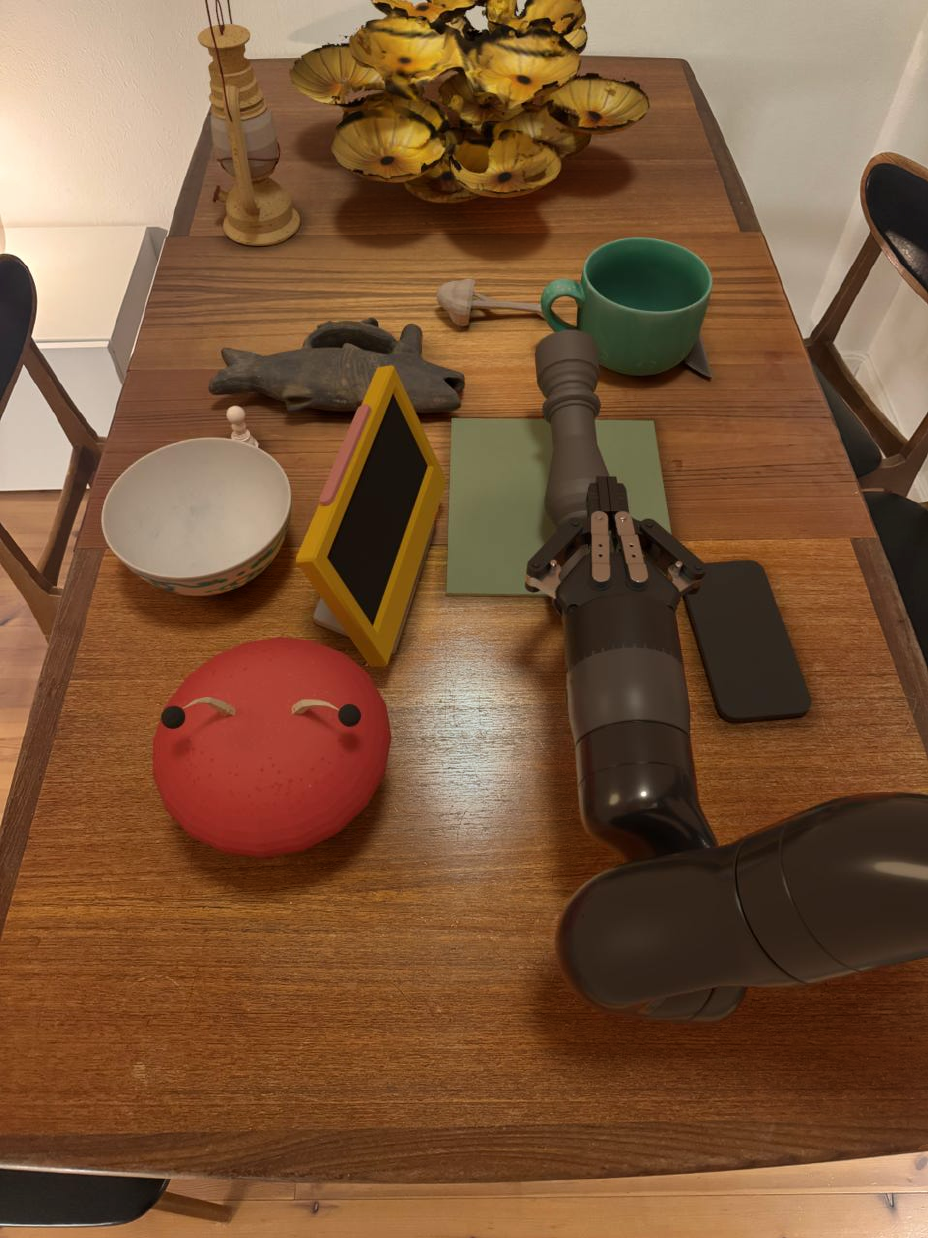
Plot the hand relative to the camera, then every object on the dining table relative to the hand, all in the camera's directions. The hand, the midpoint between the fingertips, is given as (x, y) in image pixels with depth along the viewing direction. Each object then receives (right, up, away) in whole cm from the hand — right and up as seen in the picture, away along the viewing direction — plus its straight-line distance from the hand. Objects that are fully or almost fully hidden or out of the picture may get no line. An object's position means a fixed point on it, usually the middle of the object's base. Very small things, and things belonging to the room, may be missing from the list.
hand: (604, 483), depth 66 cm
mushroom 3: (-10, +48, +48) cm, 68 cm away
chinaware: (-32, -5, +11) cm, 34 cm away
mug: (+5, +18, +27) cm, 33 cm away
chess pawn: (-32, +6, +19) cm, 38 cm away
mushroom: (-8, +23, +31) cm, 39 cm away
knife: (+14, +20, +29) cm, 38 cm away
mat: (-2, +1, +15) cm, 15 cm away
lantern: (-35, +38, +40) cm, 65 cm away
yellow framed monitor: (-18, -7, +10) cm, 22 cm away
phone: (+12, -12, +6) cm, 18 cm away
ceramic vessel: (-23, +14, +25) cm, 36 cm away
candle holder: (0, -9, +5) cm, 10 cm away
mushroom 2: (-23, -23, -1) cm, 33 cm away
